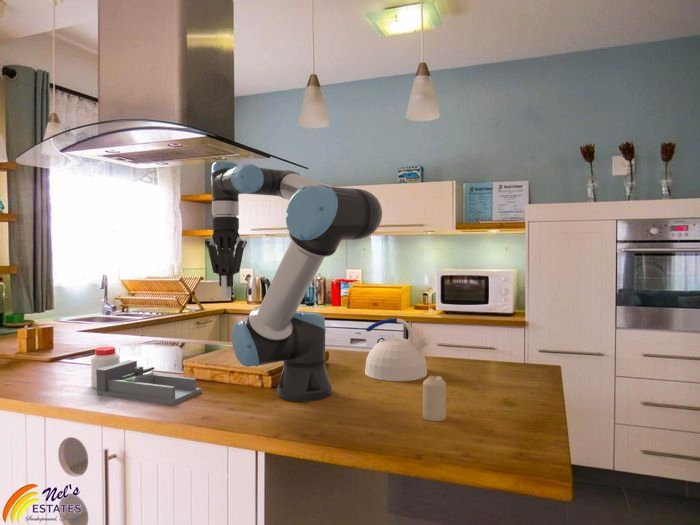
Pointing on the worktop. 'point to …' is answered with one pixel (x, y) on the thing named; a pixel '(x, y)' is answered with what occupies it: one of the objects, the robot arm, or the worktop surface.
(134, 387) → the gauge bed
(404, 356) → the kettle
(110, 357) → the pill bottle
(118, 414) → the worktop surface
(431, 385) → the white shouldered cylinder
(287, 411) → the worktop surface
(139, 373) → the slider
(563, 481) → the worktop surface
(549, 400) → the worktop surface
